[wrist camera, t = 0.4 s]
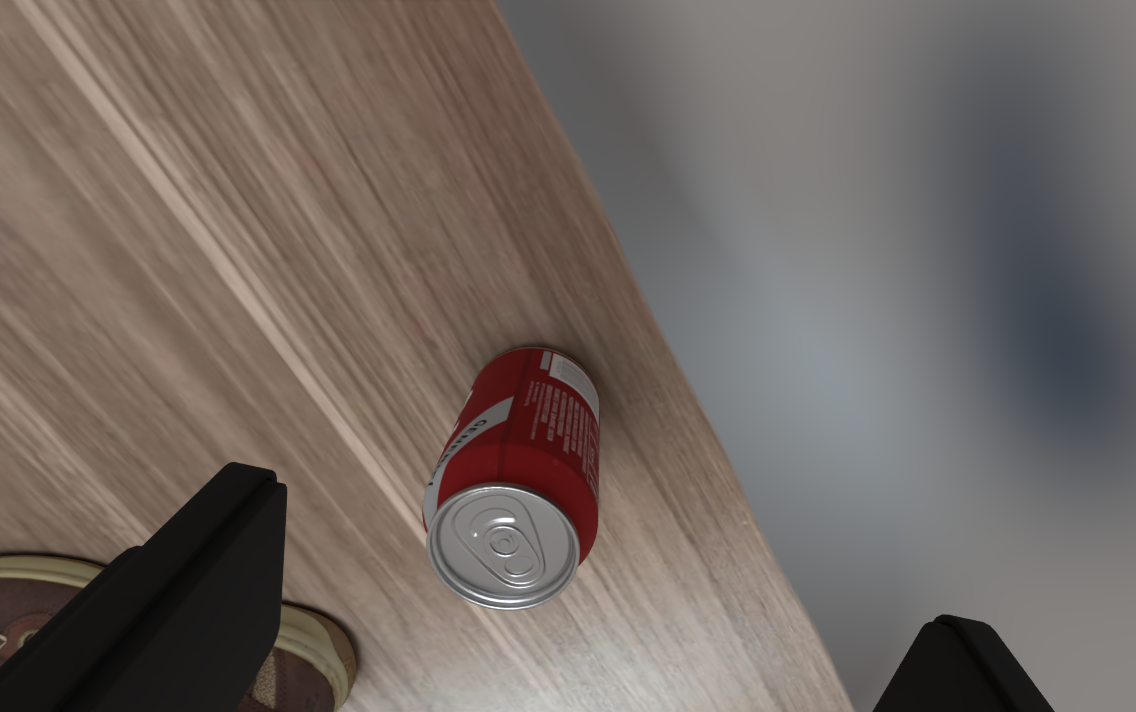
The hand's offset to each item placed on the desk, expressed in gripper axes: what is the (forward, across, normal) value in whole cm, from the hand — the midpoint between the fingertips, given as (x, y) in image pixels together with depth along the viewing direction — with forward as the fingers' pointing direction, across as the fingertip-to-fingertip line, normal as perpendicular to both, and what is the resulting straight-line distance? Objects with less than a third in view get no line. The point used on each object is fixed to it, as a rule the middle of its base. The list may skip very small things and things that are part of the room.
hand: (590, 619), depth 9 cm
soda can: (+23, +1, +8) cm, 25 cm away
